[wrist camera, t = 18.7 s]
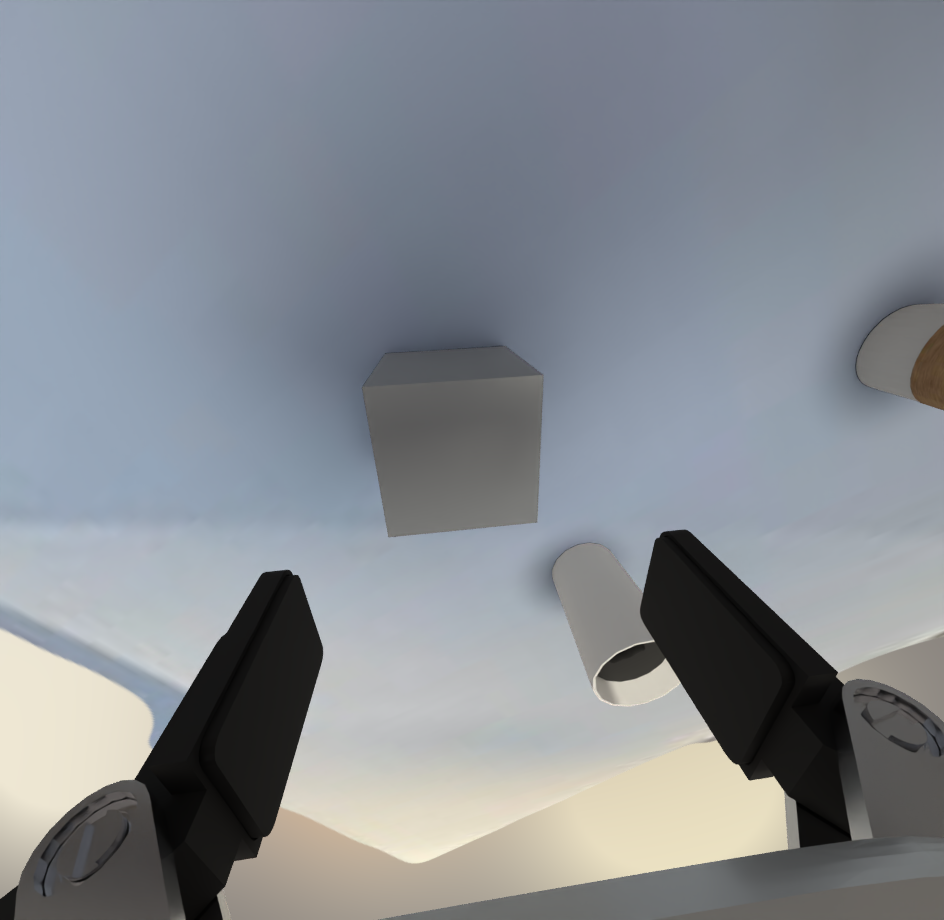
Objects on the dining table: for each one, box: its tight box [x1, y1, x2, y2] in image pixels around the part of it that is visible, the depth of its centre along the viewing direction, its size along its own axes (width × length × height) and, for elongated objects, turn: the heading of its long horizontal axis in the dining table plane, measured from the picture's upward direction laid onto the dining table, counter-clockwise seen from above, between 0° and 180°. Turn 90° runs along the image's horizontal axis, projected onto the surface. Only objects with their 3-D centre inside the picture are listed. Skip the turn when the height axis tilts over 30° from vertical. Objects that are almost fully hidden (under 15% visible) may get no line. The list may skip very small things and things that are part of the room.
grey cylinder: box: [552, 543, 681, 706], centre depth 28 cm, size 7×7×10 cm
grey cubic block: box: [362, 346, 543, 537], centre depth 21 cm, size 8×8×9 cm
